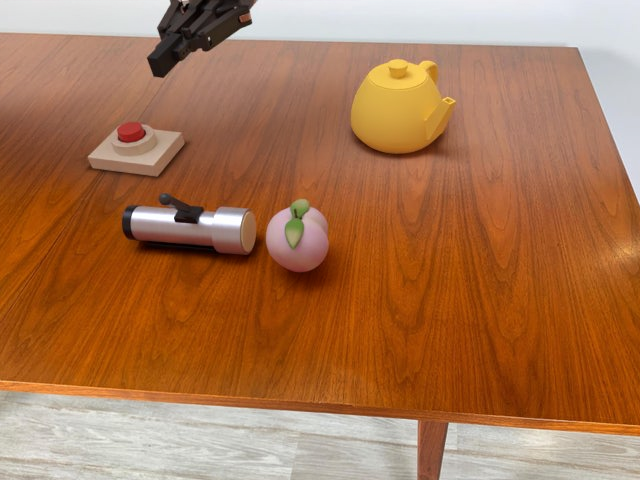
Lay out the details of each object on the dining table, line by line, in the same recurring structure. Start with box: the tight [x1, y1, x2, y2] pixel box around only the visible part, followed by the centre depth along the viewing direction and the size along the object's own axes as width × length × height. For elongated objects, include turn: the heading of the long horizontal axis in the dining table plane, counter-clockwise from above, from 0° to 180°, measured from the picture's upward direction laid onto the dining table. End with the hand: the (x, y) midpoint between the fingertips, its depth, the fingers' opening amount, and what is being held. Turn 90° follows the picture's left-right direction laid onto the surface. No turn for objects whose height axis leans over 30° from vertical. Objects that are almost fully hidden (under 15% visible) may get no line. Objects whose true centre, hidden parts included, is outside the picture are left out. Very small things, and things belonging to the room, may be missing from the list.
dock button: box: [116, 121, 145, 143], centre depth 96 cm, size 4×4×2 cm
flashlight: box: [121, 204, 257, 256], centre depth 81 cm, size 17×6×6 cm, turn 82°
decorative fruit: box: [265, 198, 330, 273], centre depth 77 cm, size 9×8×10 cm
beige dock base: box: [87, 123, 186, 177], centre depth 98 cm, size 12×10×4 cm
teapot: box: [350, 58, 457, 155], centre depth 98 cm, size 20×19×13 cm
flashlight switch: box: [158, 192, 192, 213], centre depth 75 cm, size 2×2×7 cm
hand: (155, 67), depth 76 cm, fingers closed
